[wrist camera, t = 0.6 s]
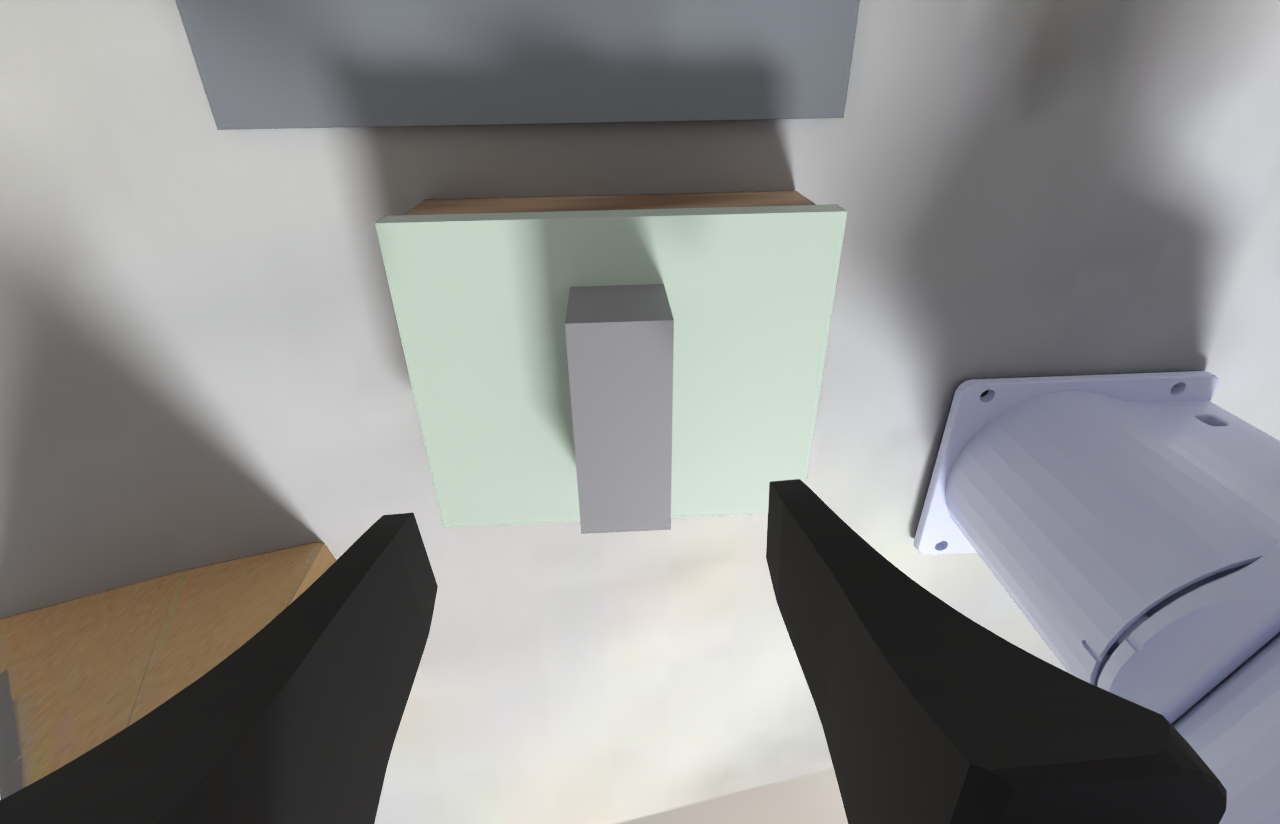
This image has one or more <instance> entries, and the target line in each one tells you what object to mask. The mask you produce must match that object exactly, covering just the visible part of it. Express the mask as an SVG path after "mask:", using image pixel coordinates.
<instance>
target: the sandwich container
mask: <svg viewBox="0 0 1280 824" xmlns="http://www.w3.org/2000/svg"><path fill="white" fill-rule="evenodd" d="M335 562H336V559H335V558H334V556H333V555H332V553H331V552H330V551H329V549H328V548H327V546H326V545H325V543H318V542H316V543H311V544H306V545H302V546H297V547H292V548H288V549H283V550H278V551H274V552H269V553H264V554H260V555H255V556H250V557H246V558H241V559H236V560H232V561H227V562H223V563H218V564H213V565H209V566H204V567H199V568H195V569H190V570H185V571H181V572H177V573H173V574H170V575H166V576H162V577H158V578H155V579H151V580H147V581H143V582H139V583H136V584H132V585H128V586H124V587H121V588H117V589H113V590H109V591H105V592H102V593H98V594H94V595H90V596H87V597H83V598H79V599H75V600H71V601H68V602H64V603H60V604H56V605H53V606H49V607H45V608H41V609H37V610H34V611H30V612H26V613H22V614H19V615H15V616H11V617H7V618H3V619H0V797H1V800H2V799H4V798H6V797H8V796H10V795H12V794H13V793H15V792H17V791H19V790H21V789H23V788H24V787H26V786H28V785H30V784H32V783H34V782H36V781H37V780H39V779H41V778H43V777H45V776H47V775H48V774H50V773H52V772H54V771H55V770H57V769H59V768H61V767H62V766H64V765H66V764H67V763H69V762H71V761H73V760H74V759H76V758H78V757H79V756H81V755H83V754H84V753H86V752H88V751H89V750H91V749H93V748H94V747H96V746H98V745H99V744H101V743H103V742H104V741H106V740H107V739H109V738H111V737H112V736H114V735H115V734H117V733H119V732H120V731H122V730H123V729H125V728H127V727H128V726H130V725H131V724H133V723H135V722H136V721H138V720H139V719H141V718H142V717H144V716H145V715H147V714H148V713H150V712H151V711H152V710H154V709H155V708H157V707H158V706H160V705H161V704H163V703H164V702H166V701H167V700H168V699H170V698H171V697H173V696H174V695H176V694H177V693H179V692H180V691H182V690H183V689H184V688H186V687H187V686H189V685H190V684H192V683H193V682H195V681H196V680H198V679H199V678H200V677H202V676H203V675H204V674H206V673H207V672H208V671H210V670H211V669H212V668H214V667H215V666H216V665H218V664H219V663H220V662H222V661H223V660H224V659H225V658H227V657H228V656H229V655H231V654H232V653H233V652H235V651H236V650H237V649H238V648H240V647H241V646H242V645H243V644H245V643H246V642H247V641H248V640H250V639H251V638H252V637H253V636H254V635H256V634H257V633H258V632H259V631H260V630H262V629H263V628H264V627H265V626H266V625H267V624H268V623H270V622H271V621H272V620H273V619H274V618H275V617H276V616H277V615H278V614H280V613H281V612H282V611H283V610H284V609H285V608H286V607H287V606H289V605H290V604H291V603H292V602H293V601H294V600H295V599H296V598H298V597H299V596H300V595H301V594H302V593H303V592H304V591H305V590H306V589H308V588H309V587H310V586H311V585H312V584H313V583H314V582H315V581H316V580H317V579H318V578H319V577H320V576H321V575H322V574H323V573H324V572H325V571H326V570H327V569H328V568H329V567H330V566H331V565H332V564H334V563H335Z"/></svg>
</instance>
